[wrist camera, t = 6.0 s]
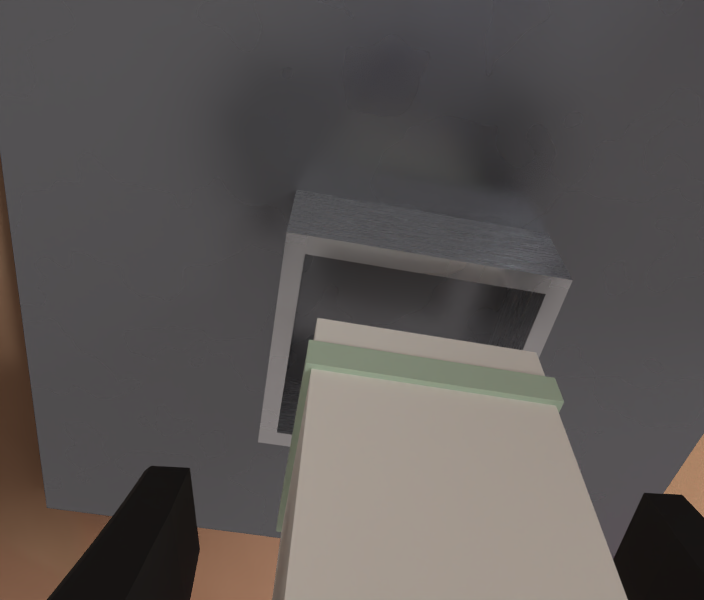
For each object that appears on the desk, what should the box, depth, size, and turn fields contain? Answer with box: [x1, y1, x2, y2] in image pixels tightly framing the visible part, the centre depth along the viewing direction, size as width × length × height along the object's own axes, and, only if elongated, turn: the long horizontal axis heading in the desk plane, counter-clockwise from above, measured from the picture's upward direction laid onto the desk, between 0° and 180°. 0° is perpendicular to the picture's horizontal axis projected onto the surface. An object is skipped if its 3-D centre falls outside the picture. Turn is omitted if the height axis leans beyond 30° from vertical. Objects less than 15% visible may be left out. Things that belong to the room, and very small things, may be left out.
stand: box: [0, 0, 704, 558], centre depth 14 cm, size 18×18×4 cm
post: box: [272, 318, 628, 600], centre depth 10 cm, size 4×4×6 cm
